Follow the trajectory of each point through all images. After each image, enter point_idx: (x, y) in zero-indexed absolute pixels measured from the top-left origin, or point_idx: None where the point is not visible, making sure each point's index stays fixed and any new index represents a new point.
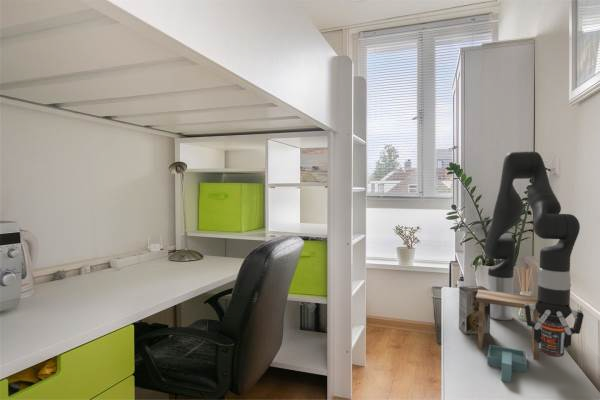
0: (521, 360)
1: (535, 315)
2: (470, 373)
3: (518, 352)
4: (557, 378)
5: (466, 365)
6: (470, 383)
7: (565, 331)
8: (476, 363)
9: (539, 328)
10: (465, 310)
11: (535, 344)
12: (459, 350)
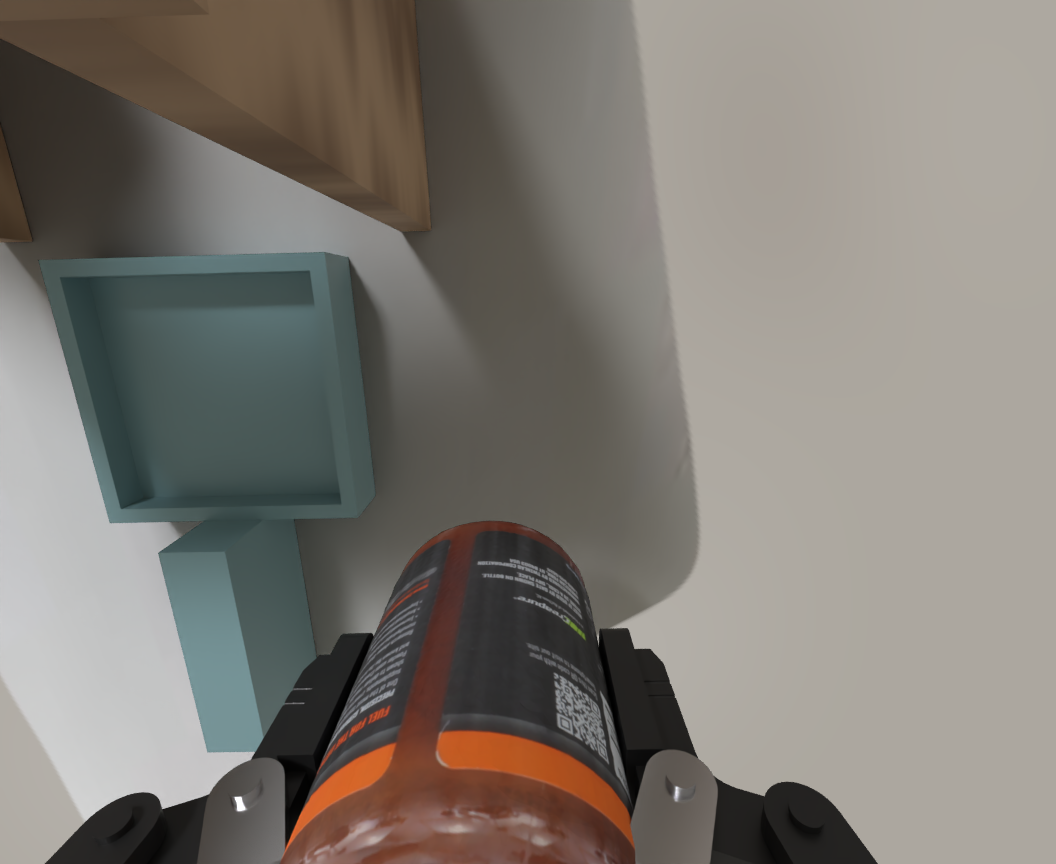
0: (324, 391)
1: (138, 92)
2: (115, 662)
3: (282, 273)
4: (541, 486)
5: (59, 580)
6: (153, 756)
7: (639, 786)
8: (96, 524)
9: (313, 774)
10: None
11: (377, 213)
12: None
